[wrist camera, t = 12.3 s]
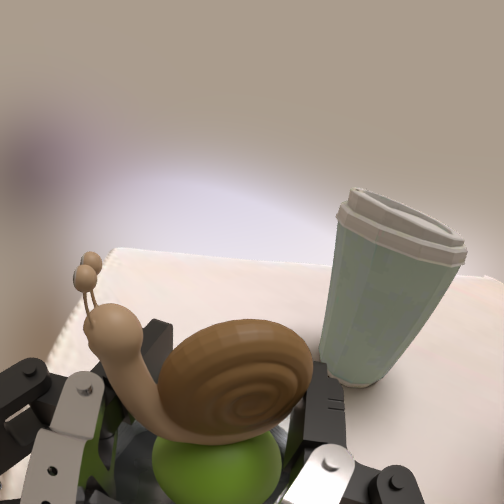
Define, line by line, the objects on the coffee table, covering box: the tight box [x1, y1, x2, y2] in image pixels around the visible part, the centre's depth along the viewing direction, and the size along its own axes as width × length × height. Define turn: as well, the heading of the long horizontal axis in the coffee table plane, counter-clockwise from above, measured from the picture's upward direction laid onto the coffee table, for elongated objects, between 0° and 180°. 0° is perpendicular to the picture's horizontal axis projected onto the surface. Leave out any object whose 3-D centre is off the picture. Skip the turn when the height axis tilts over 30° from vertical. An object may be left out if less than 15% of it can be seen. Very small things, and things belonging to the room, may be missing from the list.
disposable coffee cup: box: [319, 187, 468, 388], centre depth 20 cm, size 11×11×15 cm
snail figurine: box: [73, 252, 313, 504], centre depth 8 cm, size 5×6×12 cm
